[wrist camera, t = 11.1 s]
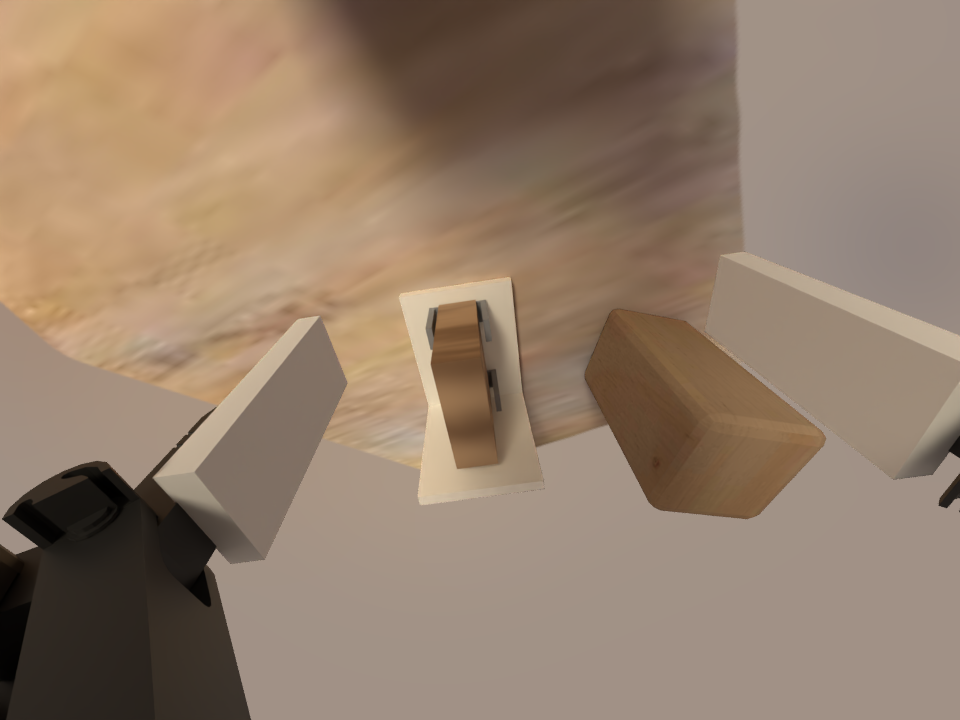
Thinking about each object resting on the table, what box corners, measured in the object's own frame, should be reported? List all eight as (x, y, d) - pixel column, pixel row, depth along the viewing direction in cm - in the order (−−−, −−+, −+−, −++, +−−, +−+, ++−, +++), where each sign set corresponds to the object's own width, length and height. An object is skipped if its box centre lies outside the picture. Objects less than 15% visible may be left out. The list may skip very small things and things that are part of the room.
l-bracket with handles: (400, 293, 39) (371, 367, 27) (509, 276, 39) (533, 343, 26) (431, 407, 48) (420, 505, 35) (521, 394, 47) (544, 489, 34)
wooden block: (579, 376, 46) (649, 514, 29) (609, 304, 41) (714, 420, 24) (651, 387, 48) (757, 525, 31) (688, 319, 43) (840, 438, 26)
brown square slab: (438, 305, 39) (430, 364, 28) (475, 299, 39) (480, 357, 28) (458, 394, 45) (456, 469, 35) (489, 389, 45) (498, 463, 35)
